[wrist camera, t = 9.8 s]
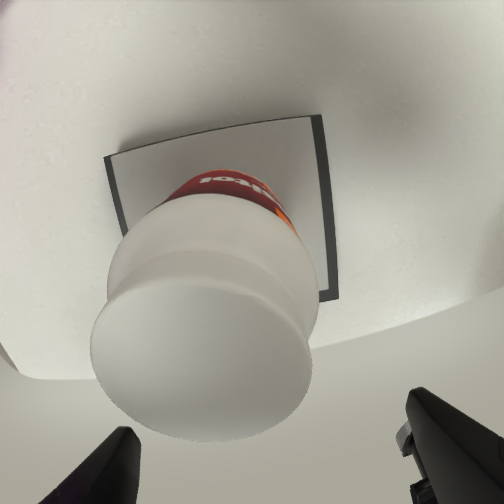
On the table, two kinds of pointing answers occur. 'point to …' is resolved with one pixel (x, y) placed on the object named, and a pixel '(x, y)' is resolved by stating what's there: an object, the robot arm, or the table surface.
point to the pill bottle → (209, 313)
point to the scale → (245, 160)
